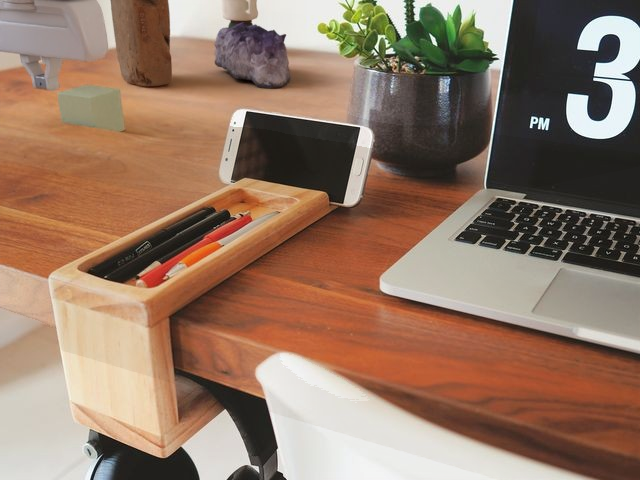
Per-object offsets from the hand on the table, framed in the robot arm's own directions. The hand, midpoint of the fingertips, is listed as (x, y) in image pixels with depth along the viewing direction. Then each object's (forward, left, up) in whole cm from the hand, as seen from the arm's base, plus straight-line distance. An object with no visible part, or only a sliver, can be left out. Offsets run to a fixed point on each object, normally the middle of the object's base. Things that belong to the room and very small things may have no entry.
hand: (46, 89), depth 97 cm
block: (-6, +28, -5) cm, 29 cm away
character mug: (-7, +60, -5) cm, 60 cm away
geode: (+8, +41, -5) cm, 42 cm away
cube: (+7, 0, -5) cm, 9 cm away
